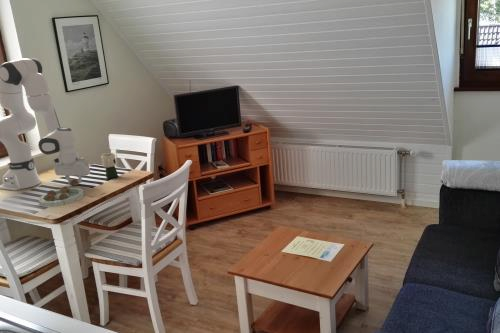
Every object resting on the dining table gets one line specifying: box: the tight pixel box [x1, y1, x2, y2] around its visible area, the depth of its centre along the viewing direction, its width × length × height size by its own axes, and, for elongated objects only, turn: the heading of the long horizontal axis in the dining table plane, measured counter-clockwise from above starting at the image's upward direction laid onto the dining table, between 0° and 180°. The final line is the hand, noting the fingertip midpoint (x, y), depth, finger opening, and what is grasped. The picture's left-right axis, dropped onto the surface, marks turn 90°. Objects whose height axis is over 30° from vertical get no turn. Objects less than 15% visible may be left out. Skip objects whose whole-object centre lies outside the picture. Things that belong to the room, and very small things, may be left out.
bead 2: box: [70, 178, 80, 187], centre depth 273 cm, size 4×4×4 cm
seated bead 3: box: [59, 193, 68, 200], centre depth 248 cm, size 4×4×4 cm
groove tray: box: [38, 187, 85, 207], centre depth 254 cm, size 21×21×3 cm
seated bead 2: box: [46, 194, 55, 201], centre depth 249 cm, size 4×4×4 cm
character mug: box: [100, 152, 119, 179], centre depth 280 cm, size 11×7×13 cm, turn 15°
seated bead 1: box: [46, 189, 56, 196], centre depth 255 cm, size 4×4×4 cm
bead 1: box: [60, 186, 69, 193], centre depth 258 cm, size 4×4×4 cm
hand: (75, 183), depth 273 cm, fingers open, 4 cm apart
